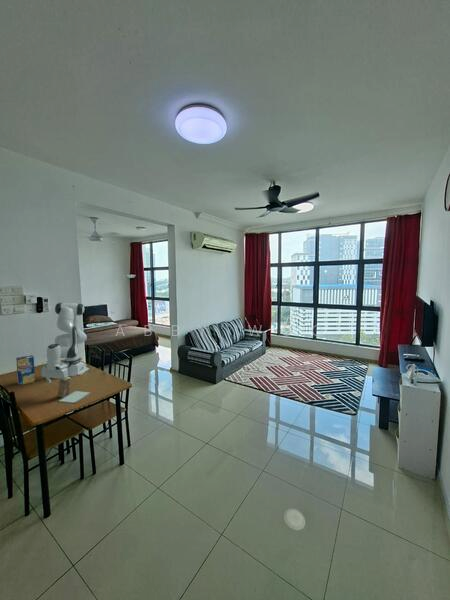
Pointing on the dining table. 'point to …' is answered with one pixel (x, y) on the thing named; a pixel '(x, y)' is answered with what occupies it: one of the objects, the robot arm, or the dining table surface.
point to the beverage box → (25, 369)
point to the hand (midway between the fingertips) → (54, 383)
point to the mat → (74, 397)
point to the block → (64, 387)
